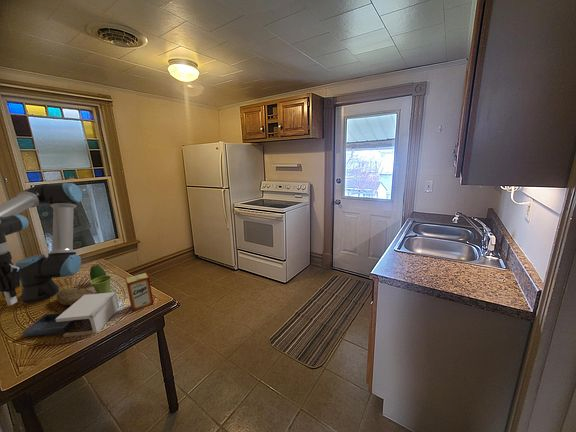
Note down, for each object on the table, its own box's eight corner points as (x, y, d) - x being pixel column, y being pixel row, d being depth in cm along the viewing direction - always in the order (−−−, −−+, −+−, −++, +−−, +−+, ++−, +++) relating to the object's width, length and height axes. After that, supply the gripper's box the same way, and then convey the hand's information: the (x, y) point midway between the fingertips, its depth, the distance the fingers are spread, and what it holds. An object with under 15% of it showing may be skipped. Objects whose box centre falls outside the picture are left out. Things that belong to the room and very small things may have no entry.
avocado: (88, 284, 148) (84, 266, 145) (101, 278, 155) (97, 261, 152) (98, 286, 146) (93, 268, 143) (110, 280, 153) (106, 262, 150)
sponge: (55, 304, 130) (64, 310, 119) (54, 290, 131) (63, 294, 119) (85, 297, 141) (97, 301, 129) (85, 284, 141) (96, 287, 130)
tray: (24, 337, 105) (22, 332, 104) (47, 319, 116) (45, 314, 115) (65, 333, 107) (63, 327, 106) (83, 316, 118) (82, 310, 118)
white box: (59, 337, 104) (54, 319, 102) (88, 310, 123) (84, 294, 120) (96, 333, 106) (91, 315, 104) (119, 307, 125) (115, 292, 122)
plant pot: (103, 298, 133) (100, 284, 131) (89, 296, 135) (86, 283, 133) (118, 289, 142) (115, 276, 140) (104, 288, 144) (101, 274, 141)
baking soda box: (132, 311, 121) (126, 282, 117) (130, 305, 126) (125, 277, 122) (153, 303, 127) (148, 276, 123) (151, 298, 132) (146, 271, 128)
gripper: (-33, 258, 96) (-14, 310, 101) (5, 255, 98) (21, 306, 103) (-13, 251, 103) (4, 300, 109) (22, 248, 105) (36, 297, 110)
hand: (12, 303), depth 106 cm, fingers closed
